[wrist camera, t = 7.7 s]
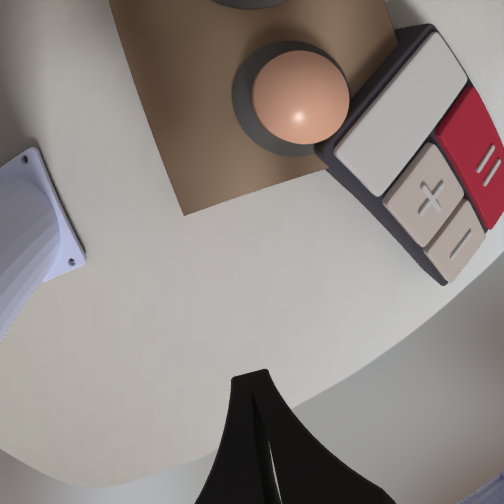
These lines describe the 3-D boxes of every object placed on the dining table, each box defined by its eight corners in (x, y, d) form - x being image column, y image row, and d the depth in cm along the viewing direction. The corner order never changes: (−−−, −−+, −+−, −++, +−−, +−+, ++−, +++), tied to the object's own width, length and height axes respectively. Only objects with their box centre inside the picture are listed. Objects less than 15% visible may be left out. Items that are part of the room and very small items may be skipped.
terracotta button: (266, 152, 15) (271, 155, 13) (238, 66, 13) (242, 62, 11) (347, 129, 15) (358, 131, 14) (325, 48, 13) (335, 44, 12)
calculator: (450, 294, 20) (324, 156, 13) (418, 266, 24) (294, 142, 17) (524, 187, 17) (440, 18, 11) (488, 171, 21) (396, 26, 14)
